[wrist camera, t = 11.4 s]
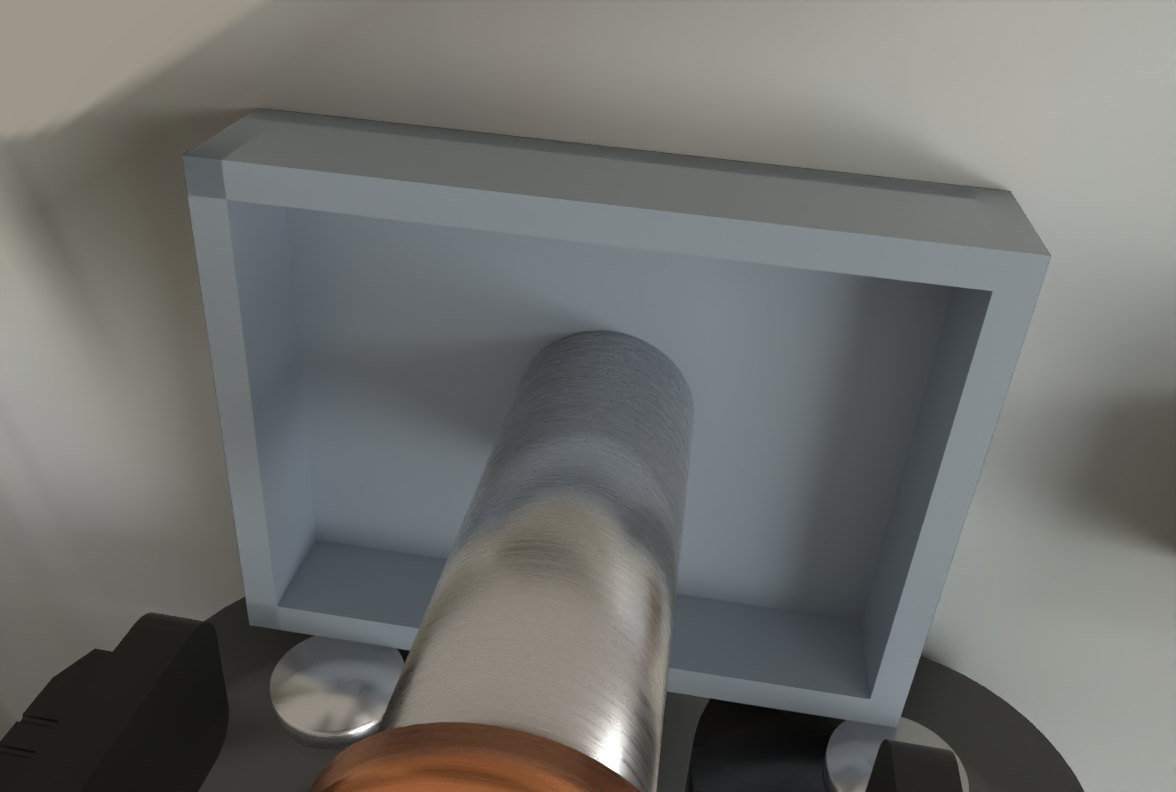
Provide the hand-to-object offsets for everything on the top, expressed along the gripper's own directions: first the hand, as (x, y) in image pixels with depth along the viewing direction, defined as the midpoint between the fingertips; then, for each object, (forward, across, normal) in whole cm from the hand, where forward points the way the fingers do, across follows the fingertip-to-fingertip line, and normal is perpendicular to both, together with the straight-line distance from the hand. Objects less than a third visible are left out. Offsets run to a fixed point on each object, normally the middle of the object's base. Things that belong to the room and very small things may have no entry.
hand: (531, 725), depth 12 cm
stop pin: (+7, 0, 0) cm, 7 cm away
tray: (+8, 0, 0) cm, 8 cm away
